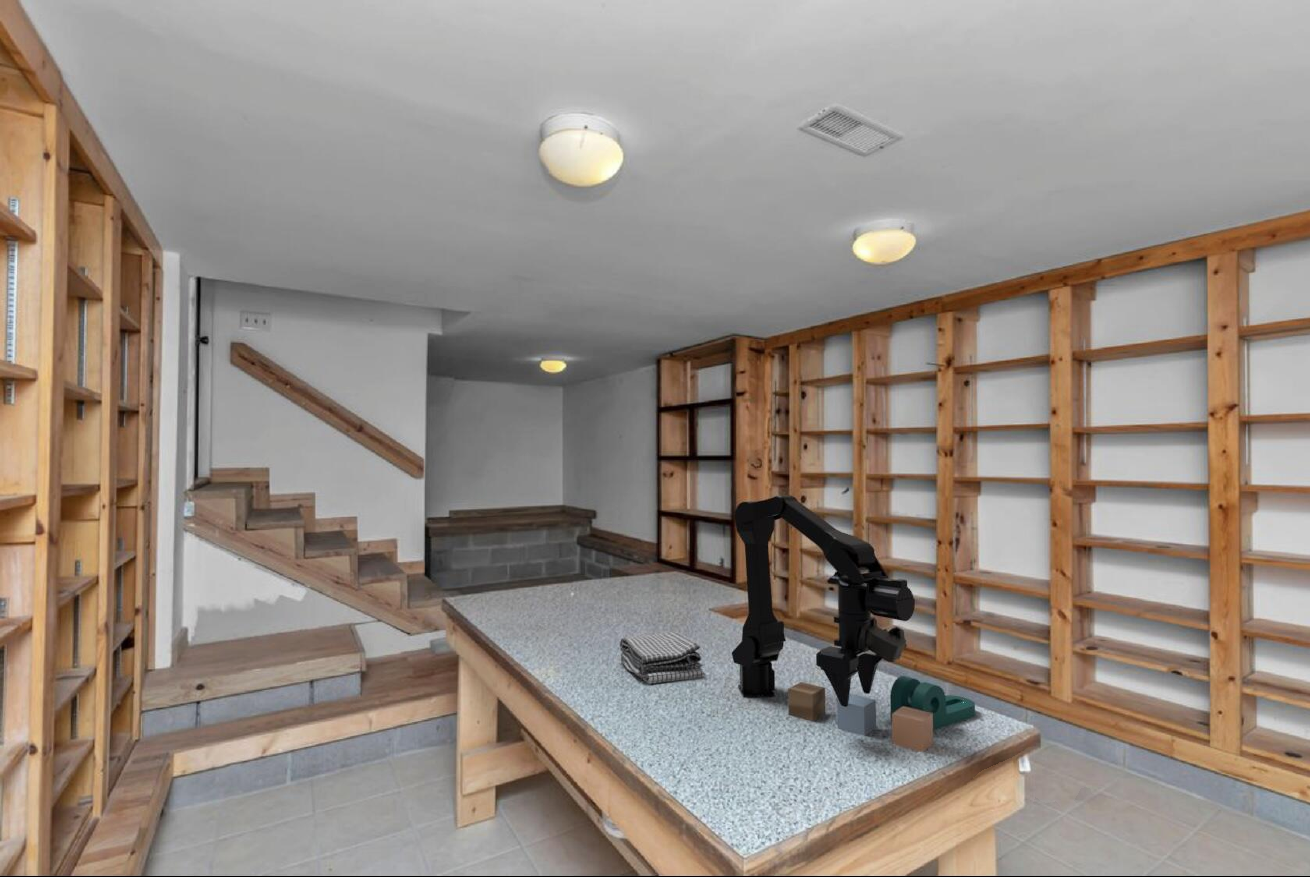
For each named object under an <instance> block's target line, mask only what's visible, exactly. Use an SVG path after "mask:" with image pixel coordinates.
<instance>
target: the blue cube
mask: <svg viewBox="0 0 1310 877" xmlns="http://www.w3.org/2000/svg"><path fill="white" fill-rule="evenodd" d="M876 704H877V700H876V699H875V698H871V697H866V696H863V695H862V696H861V695H858V694H853V693H850V694H849V702H848V706H847V707H844V706H841V704H840V702H839V700H838V699H837V700H836V710H837V712H836V713H837V715H836V716H837V718H836V719H837V720H836V721H837V722H836V723H837V729H838V730H842V731H846V732H849V733H853V734H856V735H859V736H863V737H865V736H867V735H868V734H869V733H871V732H872V731H873V730H875V729H876V728H877V705H876Z"/></svg>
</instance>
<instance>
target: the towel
mask: <svg viewBox="0 0 1310 877" xmlns="http://www.w3.org/2000/svg"><path fill="white" fill-rule="evenodd" d="M619 647H620V650H621V653H620V662H621V663H622V664H623V666H624V667H625V668H626V669H627V671H629V672H632V673H633V674H635V675H636V676H637V677H639V678H641V680H643V681H644V682H645V683H646V684H647V685H651V684H652V685H653V684H659V683H665V682H666V683H669V682H673V681H674V682H675V681H683V680H692V679H700V678H704V677H705V675H706V673H705V671H704V669H703V668H702V667H703V664H702V663H701V660H702V657H701V654H700V653H699V652H697V651H698V650H699V649H700V648H701V646H700V645H699V644H698V642H697V641H694V640H691V639H690V638H689V637H687V636H685V635H684V634H681V633H680V632H679V631H670V632H663V633H659V634H654V633H653V634H645V635H637V636H625V637H622V638H621V639H620V641H619Z"/></svg>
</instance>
